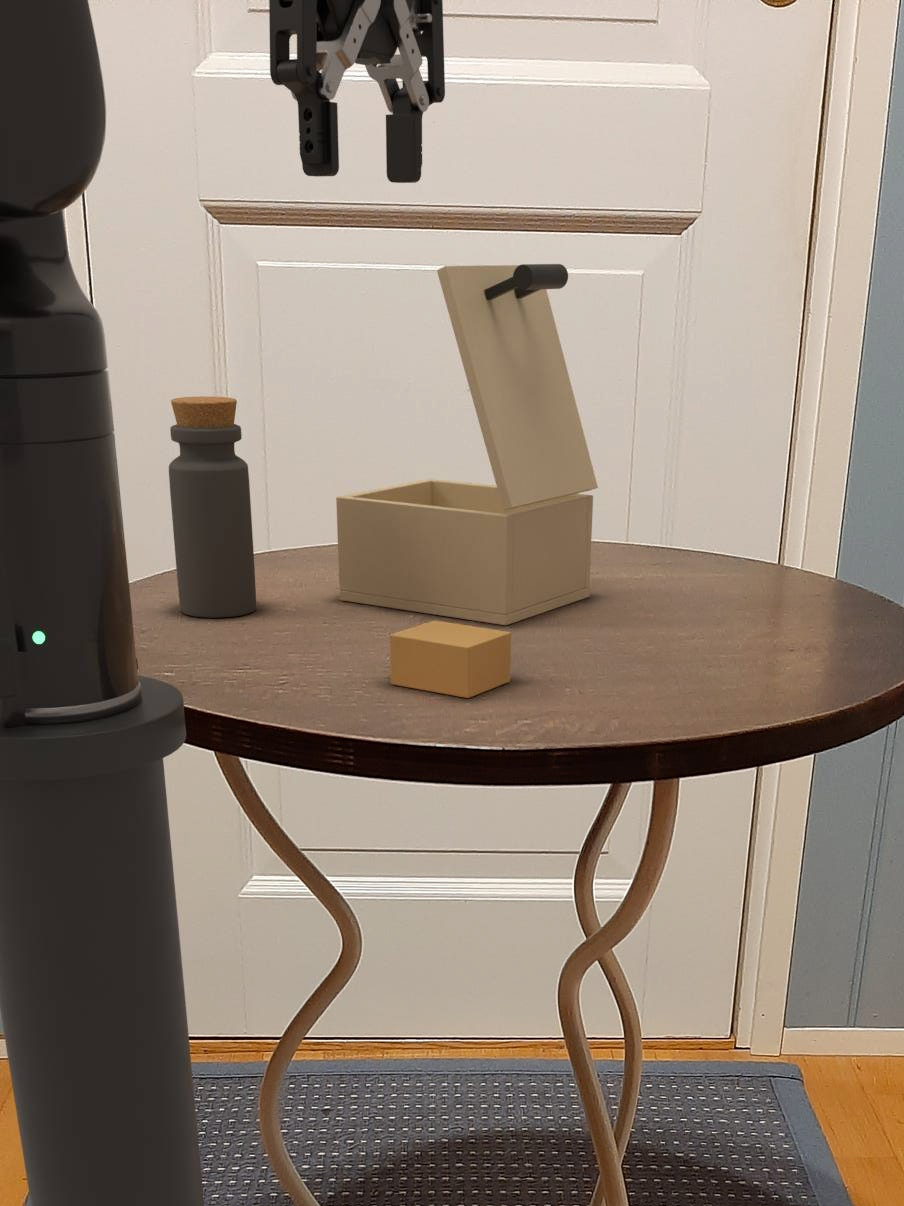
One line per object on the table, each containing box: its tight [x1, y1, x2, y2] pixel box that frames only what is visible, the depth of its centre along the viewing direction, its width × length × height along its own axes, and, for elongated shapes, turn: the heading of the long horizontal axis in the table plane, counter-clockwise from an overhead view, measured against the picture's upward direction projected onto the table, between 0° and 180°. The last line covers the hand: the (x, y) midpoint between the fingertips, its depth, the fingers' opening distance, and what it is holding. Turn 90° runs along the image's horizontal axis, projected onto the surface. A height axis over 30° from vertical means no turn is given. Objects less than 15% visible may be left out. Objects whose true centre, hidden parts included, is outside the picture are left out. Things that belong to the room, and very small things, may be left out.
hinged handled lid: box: [436, 263, 598, 511], centre depth 110 cm, size 16×13×5 cm
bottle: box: [168, 396, 257, 619], centre depth 113 cm, size 6×6×15 cm
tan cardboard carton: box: [389, 620, 512, 699], centre depth 97 cm, size 6×5×3 cm
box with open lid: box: [335, 478, 594, 627], centre depth 119 cm, size 16×13×8 cm
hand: (364, 179), depth 93 cm, fingers open, 8 cm apart
